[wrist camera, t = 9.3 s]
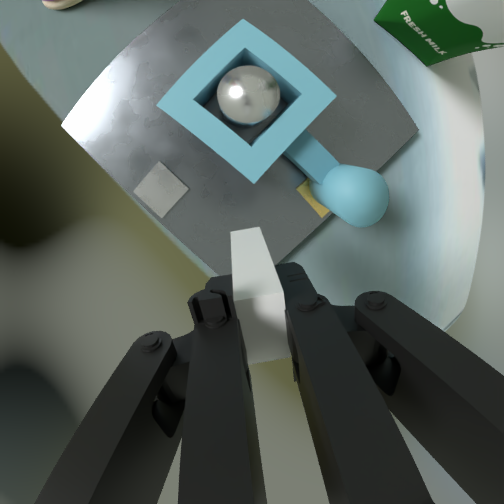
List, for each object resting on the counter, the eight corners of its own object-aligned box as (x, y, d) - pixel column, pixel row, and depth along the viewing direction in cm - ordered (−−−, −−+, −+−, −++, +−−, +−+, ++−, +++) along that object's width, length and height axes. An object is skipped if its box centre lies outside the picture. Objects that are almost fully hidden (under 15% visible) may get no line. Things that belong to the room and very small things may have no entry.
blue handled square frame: (313, 234, 22) (339, 263, 17) (170, 113, 18) (147, 100, 13) (374, 166, 21) (417, 175, 15) (240, 40, 16) (244, 6, 11)
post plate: (66, 125, 18) (26, 124, 13) (248, -37, 14) (253, -73, 9) (241, 289, 25) (245, 329, 20) (412, 129, 21) (454, 130, 15)
